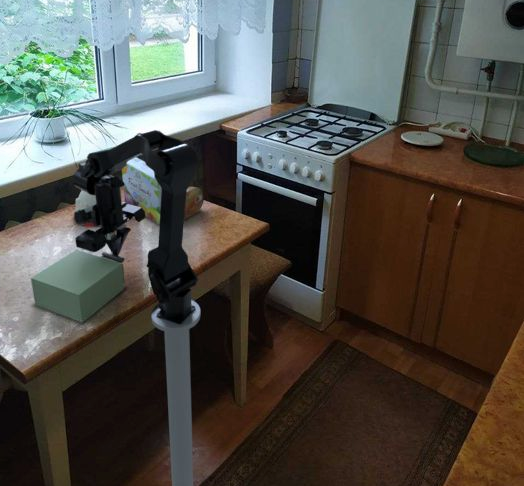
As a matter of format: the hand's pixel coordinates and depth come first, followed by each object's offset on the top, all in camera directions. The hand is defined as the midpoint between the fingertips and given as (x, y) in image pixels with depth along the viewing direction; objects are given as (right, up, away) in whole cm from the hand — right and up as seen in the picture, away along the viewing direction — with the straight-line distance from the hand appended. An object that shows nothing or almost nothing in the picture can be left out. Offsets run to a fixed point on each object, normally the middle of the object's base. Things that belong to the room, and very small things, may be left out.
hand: (115, 256), depth 123 cm
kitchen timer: (-13, +8, +29) cm, 33 cm away
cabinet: (-5, -8, -9) cm, 13 cm away
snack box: (+1, +9, +32) cm, 34 cm away
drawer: (-4, -6, -6) cm, 9 cm away
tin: (+13, +7, +31) cm, 34 cm away
